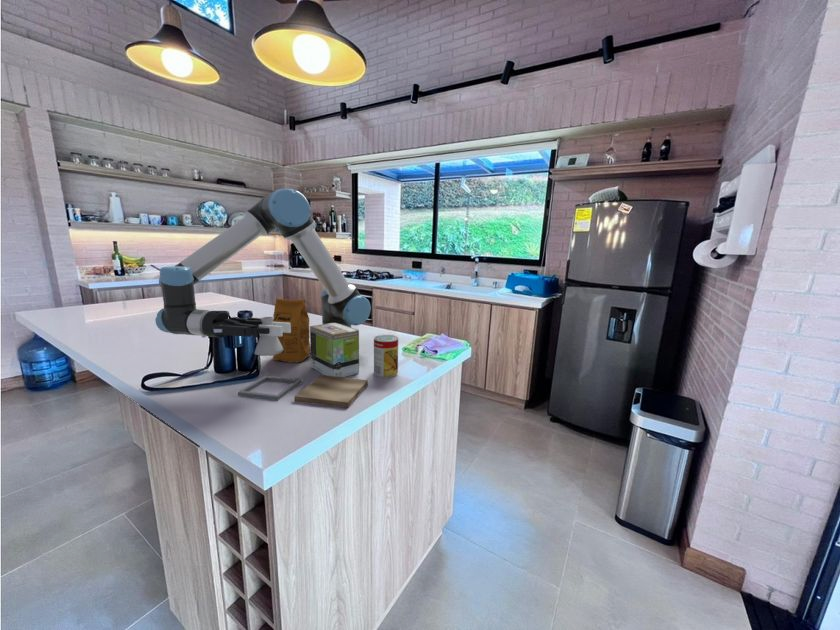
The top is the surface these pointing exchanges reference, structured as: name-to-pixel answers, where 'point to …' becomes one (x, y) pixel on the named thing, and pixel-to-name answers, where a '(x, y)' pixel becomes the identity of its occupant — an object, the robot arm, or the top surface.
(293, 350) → the coffee package
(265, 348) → the flask
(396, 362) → the canned food
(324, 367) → the tea box
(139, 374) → the top surface
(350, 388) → the walnut board
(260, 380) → the grey square frame
